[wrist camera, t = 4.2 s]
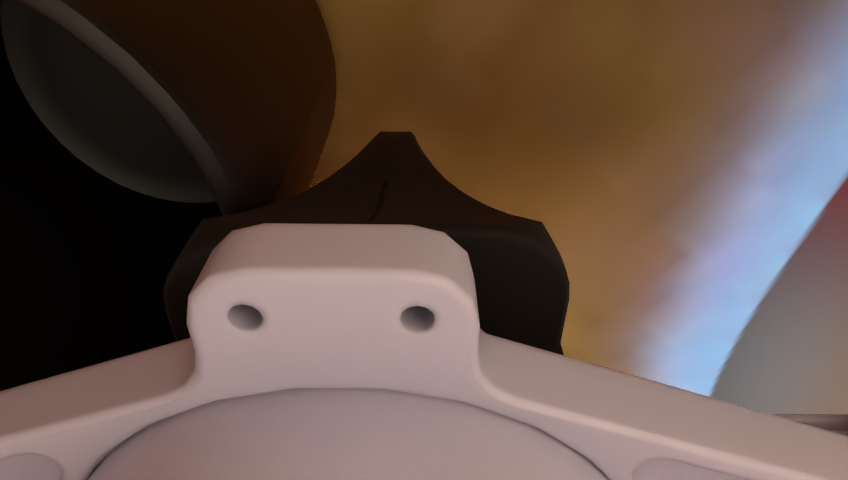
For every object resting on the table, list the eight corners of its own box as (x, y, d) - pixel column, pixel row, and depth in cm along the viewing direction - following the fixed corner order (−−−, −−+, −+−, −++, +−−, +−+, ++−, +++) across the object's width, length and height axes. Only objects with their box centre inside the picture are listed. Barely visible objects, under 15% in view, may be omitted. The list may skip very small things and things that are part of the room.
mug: (23, 237, 20) (-231, 480, 12) (-42, -190, 13) (-686, -244, 5) (301, 294, 21) (229, 545, 13) (369, -69, 14) (302, 22, 7)
